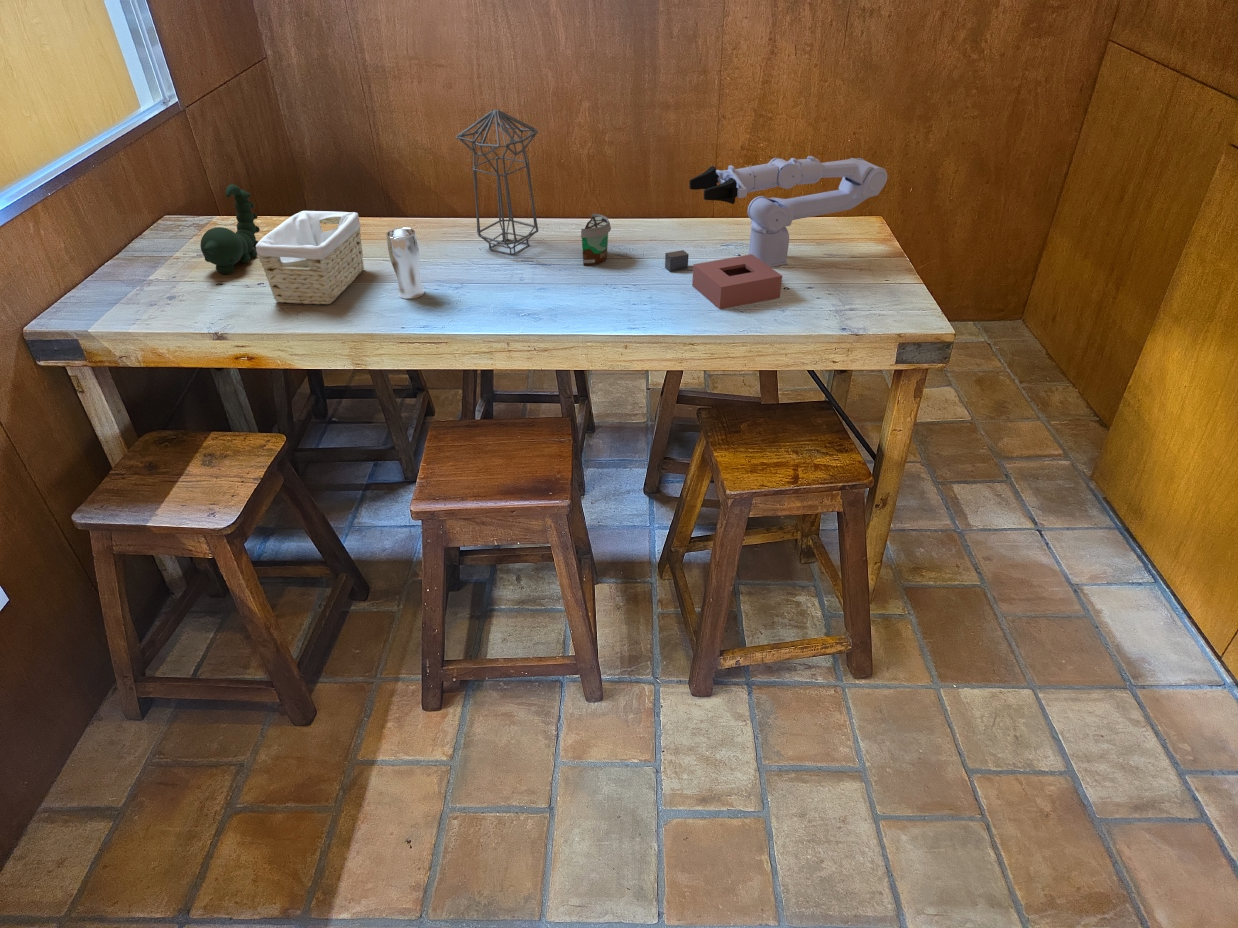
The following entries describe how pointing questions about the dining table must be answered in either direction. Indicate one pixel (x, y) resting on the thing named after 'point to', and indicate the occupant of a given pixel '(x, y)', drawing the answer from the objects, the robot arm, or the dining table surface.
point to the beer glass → (405, 261)
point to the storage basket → (312, 256)
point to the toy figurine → (232, 236)
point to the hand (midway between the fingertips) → (697, 189)
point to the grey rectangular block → (676, 261)
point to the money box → (736, 281)
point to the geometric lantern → (487, 124)
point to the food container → (595, 240)
